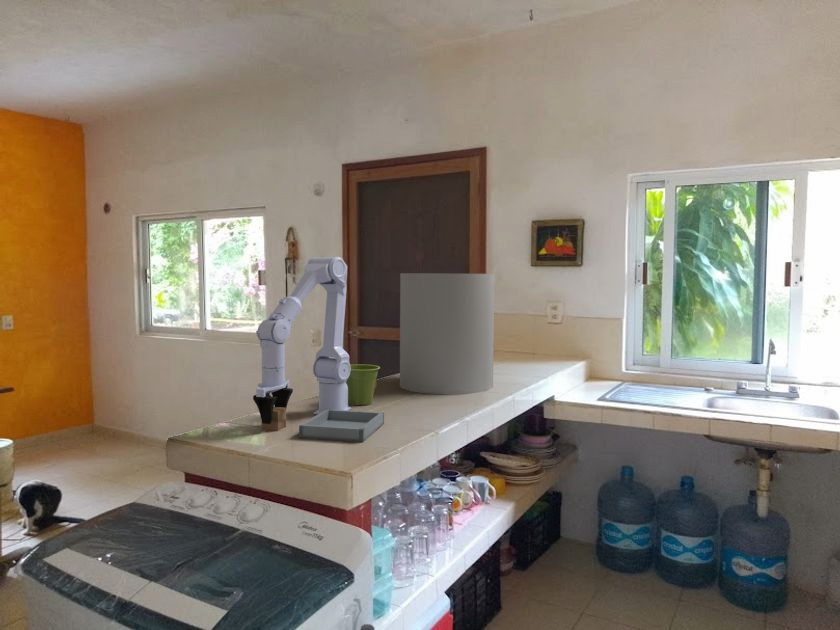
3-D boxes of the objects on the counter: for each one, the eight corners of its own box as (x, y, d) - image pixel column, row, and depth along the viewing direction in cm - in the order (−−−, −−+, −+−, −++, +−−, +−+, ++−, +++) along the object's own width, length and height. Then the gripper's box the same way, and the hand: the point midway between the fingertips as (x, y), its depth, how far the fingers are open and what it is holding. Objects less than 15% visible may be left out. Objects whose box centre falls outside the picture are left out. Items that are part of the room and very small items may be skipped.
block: (269, 425, 155) (269, 406, 155) (286, 426, 154) (285, 407, 154) (261, 430, 151) (261, 410, 150) (278, 431, 150) (278, 411, 149)
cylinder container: (472, 398, 192) (473, 273, 190) (382, 389, 206) (383, 273, 204) (504, 381, 223) (506, 274, 220) (424, 374, 237) (425, 273, 234)
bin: (326, 420, 161) (326, 409, 161) (384, 423, 157) (384, 412, 157) (299, 437, 143) (299, 425, 143) (362, 442, 140) (362, 429, 140)
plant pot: (373, 408, 176) (374, 370, 175) (335, 406, 178) (335, 369, 177) (384, 400, 187) (384, 364, 187) (348, 398, 190) (348, 363, 189)
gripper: (271, 362, 159) (272, 412, 160) (244, 370, 145) (245, 425, 146) (296, 363, 158) (296, 414, 158) (271, 371, 143) (271, 427, 144)
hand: (273, 419), depth 152 cm, fingers open, 7 cm apart
